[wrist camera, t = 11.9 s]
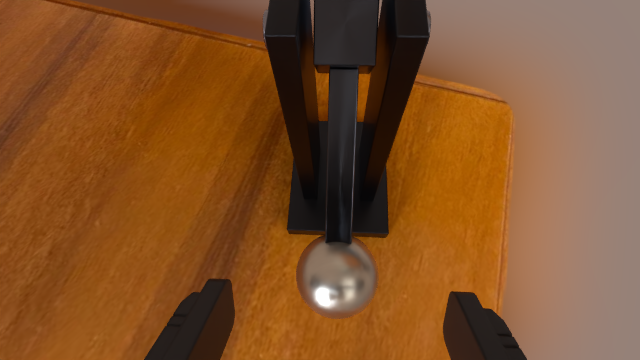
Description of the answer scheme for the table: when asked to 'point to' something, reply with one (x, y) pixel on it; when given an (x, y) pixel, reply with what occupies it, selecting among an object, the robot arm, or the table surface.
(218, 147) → the table surface
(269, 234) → the table surface
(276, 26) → the switch bracket
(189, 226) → the table surface
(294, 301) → the table surface
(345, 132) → the switch lever
